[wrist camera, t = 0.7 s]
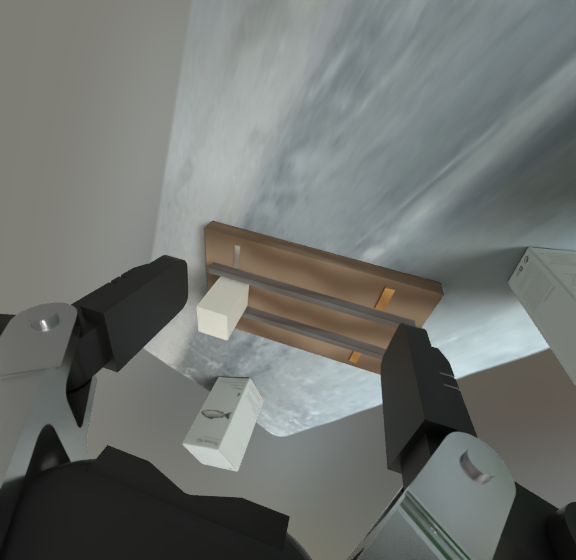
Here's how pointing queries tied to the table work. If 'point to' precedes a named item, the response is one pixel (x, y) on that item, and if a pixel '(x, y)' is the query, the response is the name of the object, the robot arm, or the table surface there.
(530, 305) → the skincare box
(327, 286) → the fader console
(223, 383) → the supplement box
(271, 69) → the table surface
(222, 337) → the fader tab
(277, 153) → the table surface
